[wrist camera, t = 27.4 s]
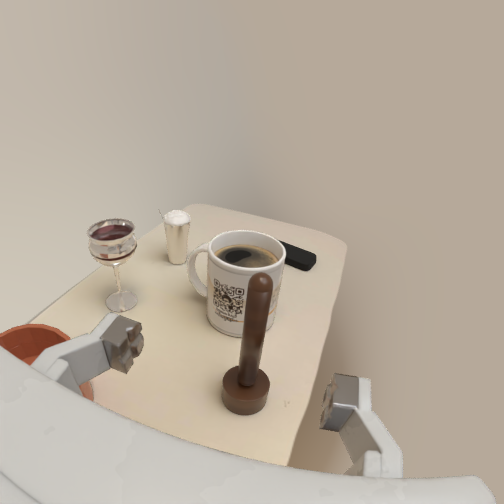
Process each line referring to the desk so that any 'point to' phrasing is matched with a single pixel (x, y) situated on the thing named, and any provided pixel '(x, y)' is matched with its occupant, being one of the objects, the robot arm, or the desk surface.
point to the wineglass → (114, 255)
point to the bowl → (36, 345)
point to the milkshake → (177, 235)
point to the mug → (236, 275)
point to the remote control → (299, 257)
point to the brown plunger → (250, 352)
